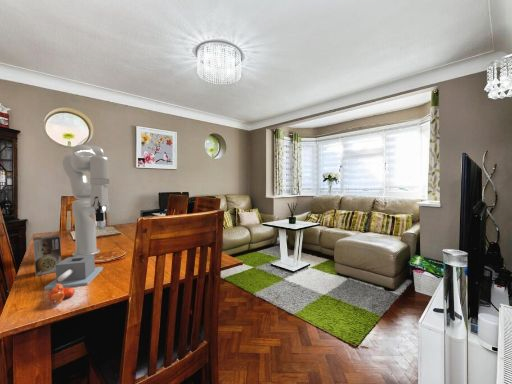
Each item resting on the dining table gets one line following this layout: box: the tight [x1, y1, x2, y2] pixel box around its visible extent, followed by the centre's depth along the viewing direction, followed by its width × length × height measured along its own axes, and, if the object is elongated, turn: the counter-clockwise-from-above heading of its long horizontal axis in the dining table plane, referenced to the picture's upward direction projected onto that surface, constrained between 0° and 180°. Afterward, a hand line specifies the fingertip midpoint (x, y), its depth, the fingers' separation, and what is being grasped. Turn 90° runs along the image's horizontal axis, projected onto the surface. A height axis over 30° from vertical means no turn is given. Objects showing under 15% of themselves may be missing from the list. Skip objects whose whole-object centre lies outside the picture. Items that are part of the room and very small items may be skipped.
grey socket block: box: [44, 255, 104, 291], centre depth 96 cm, size 22×14×8 cm, turn 17°
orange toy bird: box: [47, 284, 76, 304], centre depth 81 cm, size 5×8×12 cm
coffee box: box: [32, 234, 63, 277], centre depth 105 cm, size 9×6×16 cm
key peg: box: [96, 205, 106, 230], centre depth 110 cm, size 3×3×12 cm
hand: (101, 220), depth 110 cm, fingers closed on key peg, 3 cm apart
